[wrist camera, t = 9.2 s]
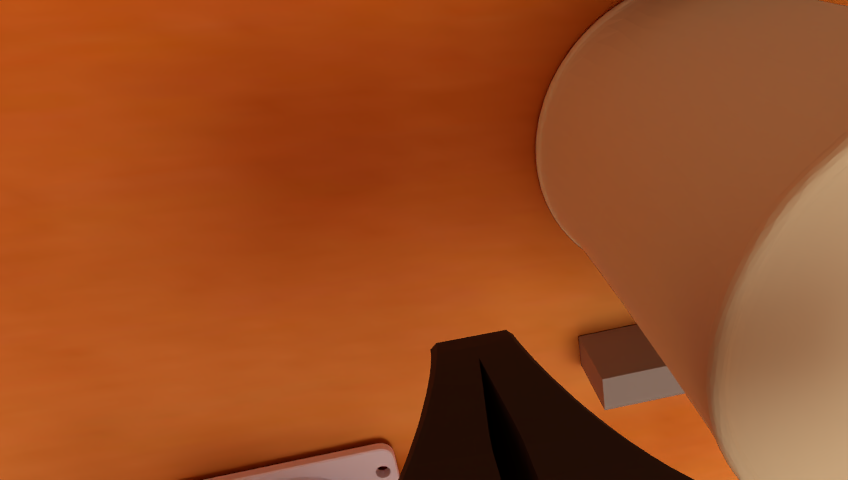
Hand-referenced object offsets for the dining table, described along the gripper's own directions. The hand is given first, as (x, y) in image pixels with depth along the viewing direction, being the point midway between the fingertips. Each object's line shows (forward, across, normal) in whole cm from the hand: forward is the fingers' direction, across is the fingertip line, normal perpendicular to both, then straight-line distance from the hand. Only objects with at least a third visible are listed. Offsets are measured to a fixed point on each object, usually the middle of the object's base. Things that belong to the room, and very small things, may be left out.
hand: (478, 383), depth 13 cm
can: (+11, -8, 0) cm, 13 cm away
